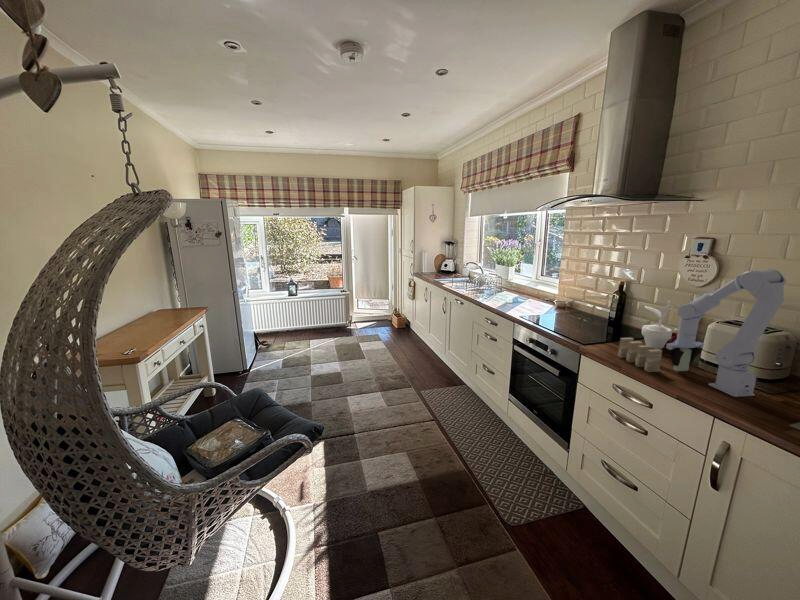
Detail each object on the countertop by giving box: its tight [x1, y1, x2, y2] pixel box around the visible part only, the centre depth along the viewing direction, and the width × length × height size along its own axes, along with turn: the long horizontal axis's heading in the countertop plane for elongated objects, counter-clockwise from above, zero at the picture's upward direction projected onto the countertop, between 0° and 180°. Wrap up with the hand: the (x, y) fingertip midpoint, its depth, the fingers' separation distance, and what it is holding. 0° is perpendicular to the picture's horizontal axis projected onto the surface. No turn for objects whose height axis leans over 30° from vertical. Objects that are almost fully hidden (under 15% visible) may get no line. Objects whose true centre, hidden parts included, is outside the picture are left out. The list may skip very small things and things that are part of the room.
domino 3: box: [634, 344, 652, 368], centre depth 141 cm, size 2×5×9 cm, turn 95°
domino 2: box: [625, 340, 644, 363], centre depth 146 cm, size 2×5×9 cm, turn 95°
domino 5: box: [672, 348, 692, 372], centre depth 136 cm, size 2×5×9 cm, turn 95°
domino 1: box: [617, 337, 634, 359], centre depth 151 cm, size 2×5×9 cm, turn 95°
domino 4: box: [643, 349, 663, 373], centre depth 136 cm, size 2×5×9 cm, turn 95°
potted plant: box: [641, 298, 674, 350], centre depth 161 cm, size 13×12×25 cm
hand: (681, 364), depth 137 cm, fingers closed on domino 5, 5 cm apart
